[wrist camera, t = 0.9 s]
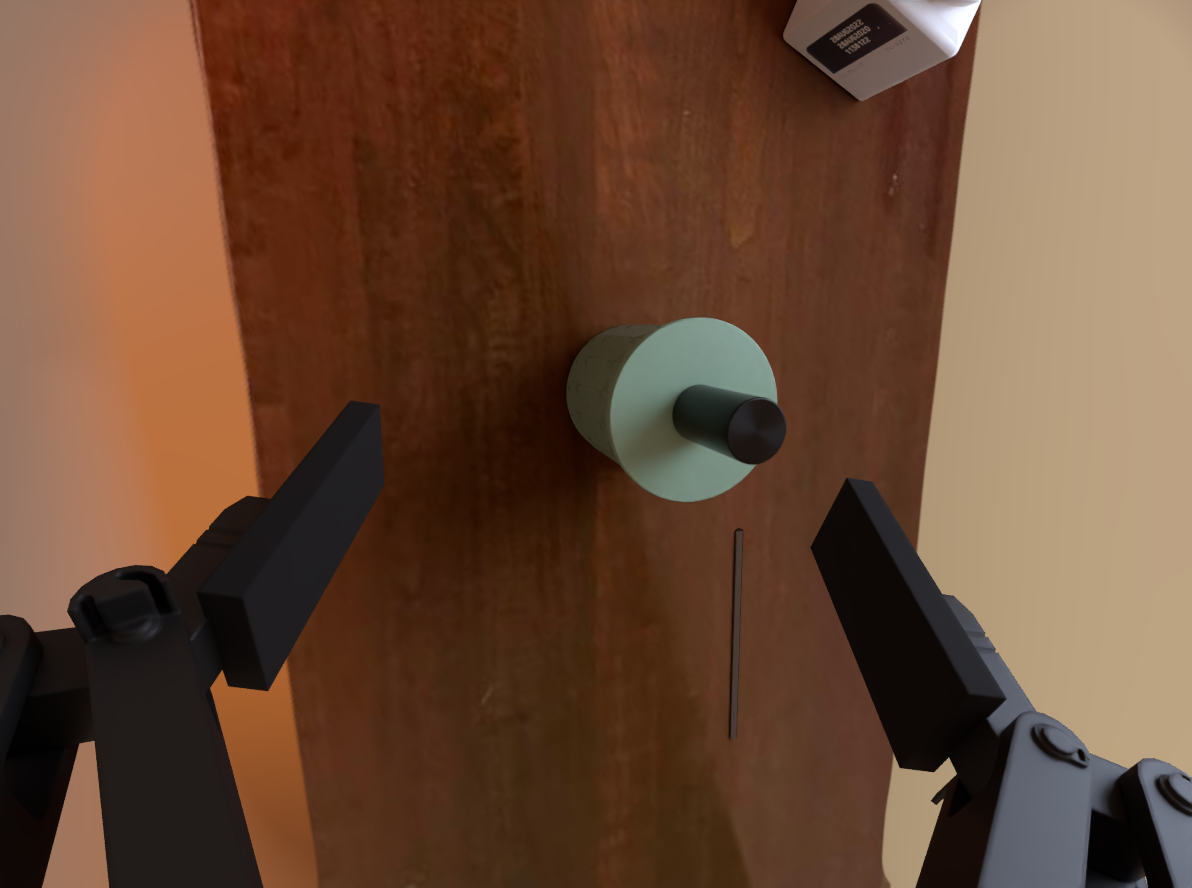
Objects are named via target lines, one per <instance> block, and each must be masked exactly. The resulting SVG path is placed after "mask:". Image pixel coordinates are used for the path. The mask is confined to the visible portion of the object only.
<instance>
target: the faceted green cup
mask: <svg viewBox="0 0 1192 888" xmlns="http://www.w3.org/2000/svg"><path fill="white" fill-rule="evenodd" d="M660 326H662V325H620V326H617V327H614V328H611V329H608V330H606V331H604V332H602V333H600V334H598V335H597V336H595V337H594V338H592V339H591V340H590V341H589V342H588V343H587V344H586V345H585V346H584V347H583V348H582V350H581V351H580V352H579V354H578V355H577V357H576V358H575V360H574V362H573V365H572V367H571V370H570V373H569V376H568V381H567V390H566V395H567V405H568V410H569V413H570V416H571V419H572V421H573V423H574V425H575V427H576V428H577V430H578V432H579V433H580V434H581V435H582V436H583V437H584V438H585V439H586V440H587V441H588V442H589V443H590V444H591V445H592V446H593V447H594V448H596V449H597V450H599V451H600V452H602V453H603V454H604V455H606V456H607V457H609V458H610V459H612V460H613V461H615V462H616V463H618V464H619V462H618V461H617V459H616V457H615V454H614V452H613V450H612V447H611V444H610V440H609V436H608V430H607V418H606V412H607V401H608V396H609V392H610V388H611V385H612V382H613V379H614V376H615V374H616V372H617V370H618V368H619V366H620V364H621V363H622V361H623V360H624V358H625V357H626V355H627V354H628V353H629V351H630V350H631V349H632V348H633V347H634V346H635V345H636V344H637V343H638V342H639V341H640V340H641V339H642V338H643V337H644V336H646V335H647V334H649V333H650V332H652V331H653V330H654V329H656V328H658V327H660ZM619 465H620V464H619Z"/></svg>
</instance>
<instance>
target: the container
mask: <svg viewBox="0 0 1192 888" xmlns="http://www.w3.org/2000/svg"><path fill="white" fill-rule="evenodd" d="M980 1H981V0H797V2H796V5H795V7H794V9H793V12H792V14H791V16H790V19H789V21H788V23H787V26H786V28H785V30H784V33H783V39H784V40H785V41H786V42H787V43H788V44H790V45H791V46H792V47H793V48H795V49H796V50H797V51H798V52H799V53H801V54H802V55H803V56H804V57H806V58H807V59H808V60H809V61H811V62H812V63H813V64H814V65H816V66H817V67H818V68H819V69H821V70H822V71H823V72H824V73H826V74H827V75H828V76H829V77H831V78H832V79H833V80H834V81H836V82H837V83H838V84H839V85H841V86H842V87H843V88H844V89H846V90H847V91H848V92H849V93H851V94H852V95H853V96H854V97H855V98H857V99H858V100H860V101H863V100H866V99H868V98H870V97H872V96H874V95H876V94H878V93H880V92H882V91H884V90H886V89H888V88H890V87H892V86H894V85H896V84H898V83H900V82H902V81H904V80H906V79H908V78H910V77H912V76H914V75H916V74H918V73H920V72H922V71H924V70H926V69H928V68H930V67H932V66H934V65H936V64H938V63H940V62H943V61H945V60H947V59H949V58H951V57H953V56H954V55H955V54H956V53H957V52H958V50H959V48H960V46H961V44H962V41H963V39H964V37H965V35H966V32H967V30H968V28H969V26H970V24H971V21H972V19H973V17H974V15H975V13H976V10H977V8H978V6H979V4H980Z"/></svg>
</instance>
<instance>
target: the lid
mask: <svg viewBox="0 0 1192 888" xmlns="http://www.w3.org/2000/svg"><path fill="white" fill-rule="evenodd" d="M606 418H607V430H608V436H609V440H610V444H611V447H612V450H613V452H614V454H615V457H616V459H617V461H618V462H619V464H620V465H621V467H622V469H623V470H624V471H625V472H626V473H627V475H628V476H629V477H630V478H631V479H632V480H633V481H634V482H636V483H637V484H638V485H639V486H641V487H642V488H644V489H645V490H647V491H648V492H650V493H652V494H654V495H656V496H658V497H660V498H664V499H667V500H671V501H679V502H693V501H700V500H705V499H708V498H712V497H714V496H717V495H719V494H721V493H723V492H725V491H727V490H729V489H730V488H732V487H733V486H735V485H736V484H737V483H739V482H740V481H741V480H742V479H743V478H744V477H745V476H746V475H747V474H749V473H750V471H751V470H752V469H753V468H754V466H755V465H756V464H760V463H763V462H765V461H767V460H769V459H770V458H772V457H773V456H774V455H775V454H776V453H777V452H778V450H779V449H780V447H781V445H782V443H783V441H784V438H785V434H786V420H785V416H784V414H783V412H782V410H781V408H780V407H779V406H778V405H777V391H776V384H775V379H774V375H773V372H772V370H771V367H770V364H769V362H768V360H767V358H766V356H765V355H764V353H763V352H762V350H761V349H760V347H759V346H758V345H757V344H756V343H755V341H754V340H753V339H752V338H751V337H750V336H748V335H747V334H746V333H745V332H744V331H742V330H740V329H739V328H737V327H736V326H734V325H732V324H729V323H727V322H725V321H721V320H717V319H713V318H703V317H701V318H685V319H680V320H675V321H672V322H670V323H667V324H664V325H662V326H660V327H658V328H656V329H654V330H653V331H652V332H650V333H649V334H647V335H646V336H644V337H643V338H642V339H641V340H640V341H639V342H638V343H637V344H636V345H635V346H634V347H633V348H632V349H631V350H630V351H629V353H628V354H627V355H626V357H625V358H624V360H623V361H622V363H621V364H620V366H619V368H618V370H617V372H616V374H615V376H614V379H613V382H612V385H611V388H610V392H609V396H608V401H607V412H606Z"/></svg>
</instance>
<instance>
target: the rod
mask: <svg viewBox="0 0 1192 888" xmlns="http://www.w3.org/2000/svg"><path fill="white" fill-rule="evenodd" d="M742 553H743V529H741V528H738V529H736V530H735V542H734V577H733V613H732V649H731V685H730V720H729V738H731V739H735V738H736V737H737V711H738V679H739V648H740V616H741V585H742Z"/></svg>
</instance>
